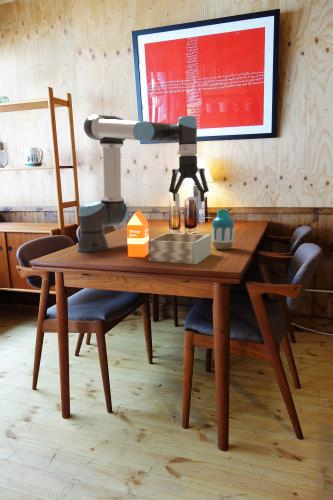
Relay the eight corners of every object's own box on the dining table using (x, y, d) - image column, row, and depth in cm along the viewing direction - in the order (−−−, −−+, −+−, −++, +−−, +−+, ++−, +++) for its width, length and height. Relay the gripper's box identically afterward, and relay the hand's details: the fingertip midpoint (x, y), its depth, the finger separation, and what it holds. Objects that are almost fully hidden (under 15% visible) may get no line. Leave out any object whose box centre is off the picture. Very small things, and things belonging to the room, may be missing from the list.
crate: (148, 261, 166) (148, 240, 164) (167, 251, 184) (166, 232, 182) (192, 264, 158) (192, 243, 156) (207, 254, 176) (207, 234, 174)
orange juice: (127, 256, 176) (125, 212, 172) (134, 252, 184) (132, 210, 180) (144, 257, 174) (142, 213, 170) (149, 252, 182) (148, 210, 178)
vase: (208, 248, 188) (207, 209, 184) (227, 246, 192) (227, 208, 188) (218, 252, 179) (218, 211, 175) (238, 250, 182) (238, 210, 178)
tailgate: (193, 263, 158) (193, 242, 156) (207, 253, 176) (207, 234, 174) (196, 263, 158) (196, 242, 156) (210, 253, 175) (210, 234, 173)
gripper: (159, 156, 161) (161, 209, 166) (211, 154, 152) (211, 210, 157) (166, 156, 168) (168, 207, 172) (216, 154, 159) (216, 208, 164)
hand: (188, 209), depth 165 cm, fingers open, 10 cm apart
